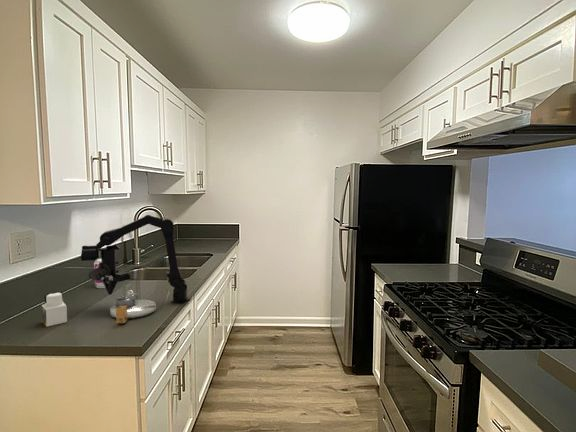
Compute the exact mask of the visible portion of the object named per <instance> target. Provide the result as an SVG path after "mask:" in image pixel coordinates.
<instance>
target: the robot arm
mask: <svg viewBox="0 0 576 432" xmlns="http://www.w3.org/2000/svg"><path fill="white" fill-rule="evenodd" d="M147 225H150V226H153V227H155V228H159V229H161V232H162V235H163V238H164V240H165V242H164V243H165V247H166V253H167V259H168V264H169V265H168V267H169V270H166V277H167V283H169V286H171V287H172V288H173V289H172V291H173V293H172V300H170V302H171V303H177V304H184V303H186V302H188V301H190V300H191V298H188V285H187V281H186V280H185V279H183V277H182V274H181V272H180V269H179V266H178V261H177V253H176V250H175V242H174V230H175V229H174V226H175V225H174V222H173V221H172V220H171V219H170V218H168V217H166V218H162V217H161V218H160V217H156V216H153V215H150V214H146V215H144V216H142V217H140V218H138V219H136V220H134V221H132V222H130V223H127V224H126V225H123V226H121V227H118V228H113V229H110V230H106V231H104V232H103V233H101V234H100V236H99V241H98V242H97V243H96V245H82V246H81V254H80V261H81V262H82V263H83V262H93V261H94V262H95V261H97V259H101V263H99V267H98V268H96V269H93V270H91V271H90V272H89V273H88V279H90V280H92V281H95V280H99V281H101V282H102V283H103V284H104V285H105V287H106V288H105V290H106V293H107V295H112V294H113V292H114V290H115V288H116V285H117V284H118V283H120V282H123V281H127V280H131V273H129V272H125V271H121V272H119V269H117V265H118V264H119V261H118V260H117V259H116V257H117V255H116V251H117V250H118V251H119V250H120V249H121V247H120V246H119V245H118V244H117V243H115V242H117V241H118V240H120V239H121V238H122V237H124V236H126V235H128V234H130V233H132V232H134V231H136V230H139V229H141V228H143V227H145V226H147ZM114 243H115V244H114ZM112 244H114V245H112ZM105 246H106V247H105ZM111 275H112V276H111Z"/></svg>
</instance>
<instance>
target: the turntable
mask: <svg viewBox="0 0 576 432" xmlns="http://www.w3.org/2000/svg"><path fill="white" fill-rule="evenodd" d="M135 303H136V304H135V305H134V306H132V307H128V308H127V306H118V307H117V308H116V307H115V304H113V306H111V307H110V311H109V312H110V317H112V318H115V319H116V324H126V322H127V321H128V319H134V318H135V319H136V318H141V317H145V316H147V315H151V314H152V313H153V312H155V311H156V310H157V308H156V307H157V306H156V305H157V303H156V301H154V300H150V299H138V300H135Z"/></svg>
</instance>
